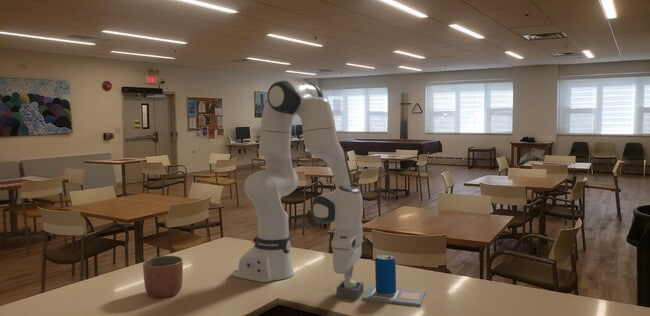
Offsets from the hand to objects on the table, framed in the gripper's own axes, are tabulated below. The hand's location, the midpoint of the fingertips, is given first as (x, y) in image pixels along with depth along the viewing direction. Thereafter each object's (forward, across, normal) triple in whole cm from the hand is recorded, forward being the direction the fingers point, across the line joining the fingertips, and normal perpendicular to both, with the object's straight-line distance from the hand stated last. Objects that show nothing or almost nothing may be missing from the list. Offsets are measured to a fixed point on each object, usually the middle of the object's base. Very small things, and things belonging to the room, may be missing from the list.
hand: (348, 278), depth 154 cm
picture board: (+5, -2, +15) cm, 16 cm away
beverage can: (+4, -2, +12) cm, 13 cm away
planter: (+6, +18, -58) cm, 61 cm away
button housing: (+5, 0, +1) cm, 5 cm away
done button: (+4, 0, +1) cm, 4 cm away
